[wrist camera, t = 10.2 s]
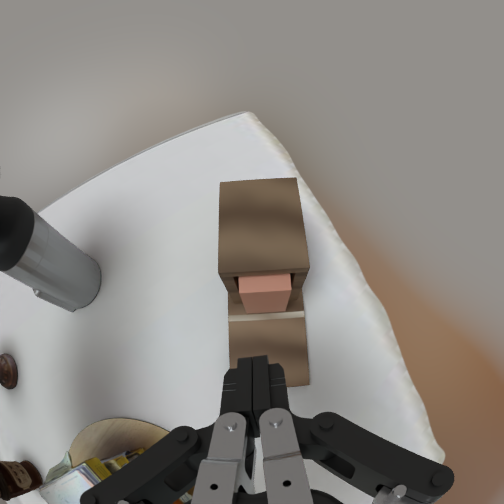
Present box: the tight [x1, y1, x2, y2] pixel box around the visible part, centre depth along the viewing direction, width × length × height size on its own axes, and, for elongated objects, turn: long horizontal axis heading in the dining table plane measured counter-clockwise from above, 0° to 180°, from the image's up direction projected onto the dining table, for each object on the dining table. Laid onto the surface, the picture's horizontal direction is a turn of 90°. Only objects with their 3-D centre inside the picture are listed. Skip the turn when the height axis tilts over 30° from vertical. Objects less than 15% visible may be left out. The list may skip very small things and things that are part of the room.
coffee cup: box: [0, 461, 42, 501], centre depth 18 cm, size 9×8×13 cm
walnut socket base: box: [218, 178, 310, 387], centre depth 31 cm, size 22×10×13 cm, turn 2°
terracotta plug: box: [239, 273, 291, 314], centre depth 32 cm, size 5×5×10 cm
